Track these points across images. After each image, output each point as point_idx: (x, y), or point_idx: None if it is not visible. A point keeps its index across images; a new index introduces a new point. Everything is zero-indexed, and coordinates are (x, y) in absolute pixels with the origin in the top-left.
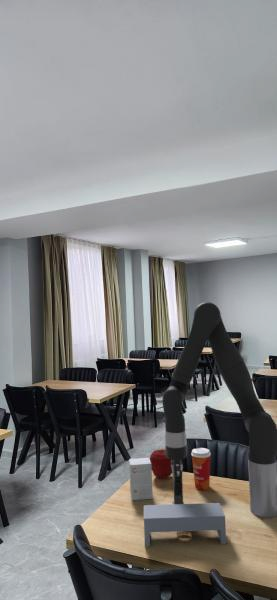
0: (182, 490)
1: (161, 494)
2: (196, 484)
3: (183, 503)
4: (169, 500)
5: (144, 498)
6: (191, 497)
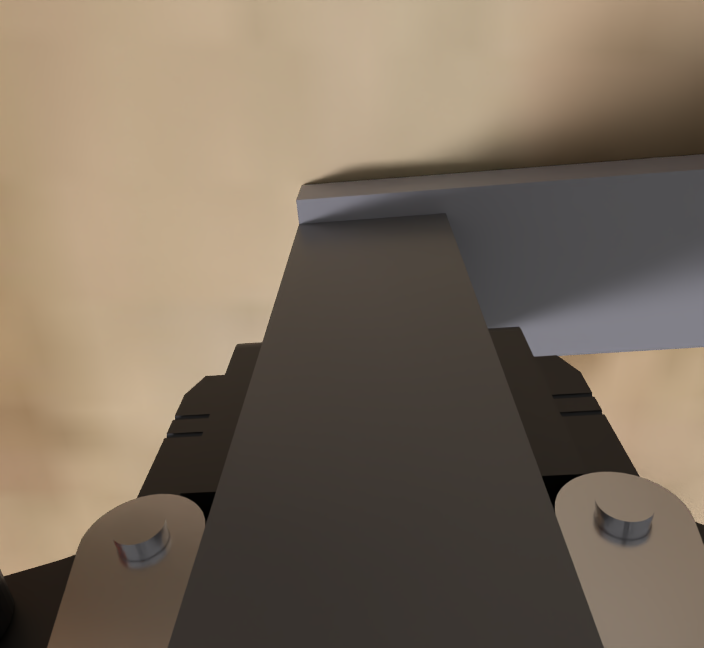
0: (485, 332)
1: (27, 477)
2: None
3: (367, 206)
4: (180, 384)
5: None
6: (7, 40)
